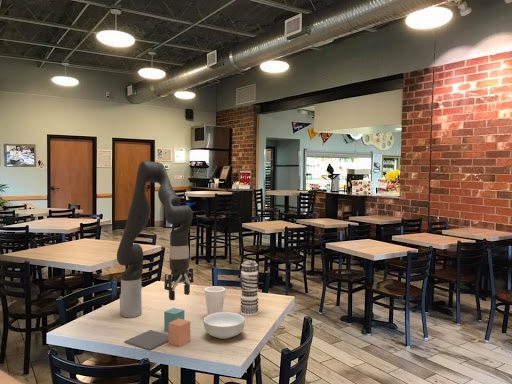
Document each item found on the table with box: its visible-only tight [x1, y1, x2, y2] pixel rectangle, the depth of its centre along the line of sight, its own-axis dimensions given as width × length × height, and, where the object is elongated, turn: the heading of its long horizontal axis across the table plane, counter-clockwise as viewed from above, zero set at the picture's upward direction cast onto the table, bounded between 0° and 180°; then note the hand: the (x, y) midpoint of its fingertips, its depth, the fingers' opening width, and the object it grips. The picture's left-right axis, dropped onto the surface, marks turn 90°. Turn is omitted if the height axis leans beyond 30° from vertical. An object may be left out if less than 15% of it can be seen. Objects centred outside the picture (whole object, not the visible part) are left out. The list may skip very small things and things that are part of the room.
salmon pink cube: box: [168, 319, 191, 347], centre depth 162 cm, size 6×6×8 cm
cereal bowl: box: [203, 311, 246, 340], centre depth 169 cm, size 17×17×7 cm
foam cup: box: [204, 285, 226, 316], centre depth 192 cm, size 10×9×13 cm
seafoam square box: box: [163, 307, 185, 332], centre depth 176 cm, size 6×6×8 cm
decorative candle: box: [239, 259, 260, 317], centre depth 197 cm, size 9×9×25 cm
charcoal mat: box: [123, 329, 169, 351], centre depth 164 cm, size 14×14×1 cm
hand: (179, 297), depth 162 cm, fingers open, 8 cm apart
